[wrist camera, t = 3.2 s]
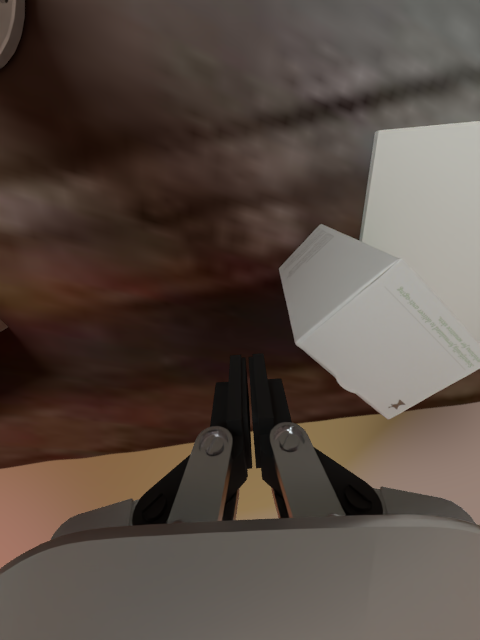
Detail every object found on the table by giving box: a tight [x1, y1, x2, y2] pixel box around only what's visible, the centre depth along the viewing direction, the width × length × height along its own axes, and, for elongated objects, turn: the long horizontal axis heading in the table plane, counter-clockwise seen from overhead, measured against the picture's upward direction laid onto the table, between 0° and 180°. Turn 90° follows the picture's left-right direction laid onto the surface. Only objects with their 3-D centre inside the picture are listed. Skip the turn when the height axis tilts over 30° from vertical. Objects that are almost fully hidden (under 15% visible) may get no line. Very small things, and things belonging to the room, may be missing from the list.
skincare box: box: [279, 224, 480, 419], centre depth 19 cm, size 8×7×16 cm
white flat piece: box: [359, 121, 480, 343], centre depth 24 cm, size 24×19×3 cm
